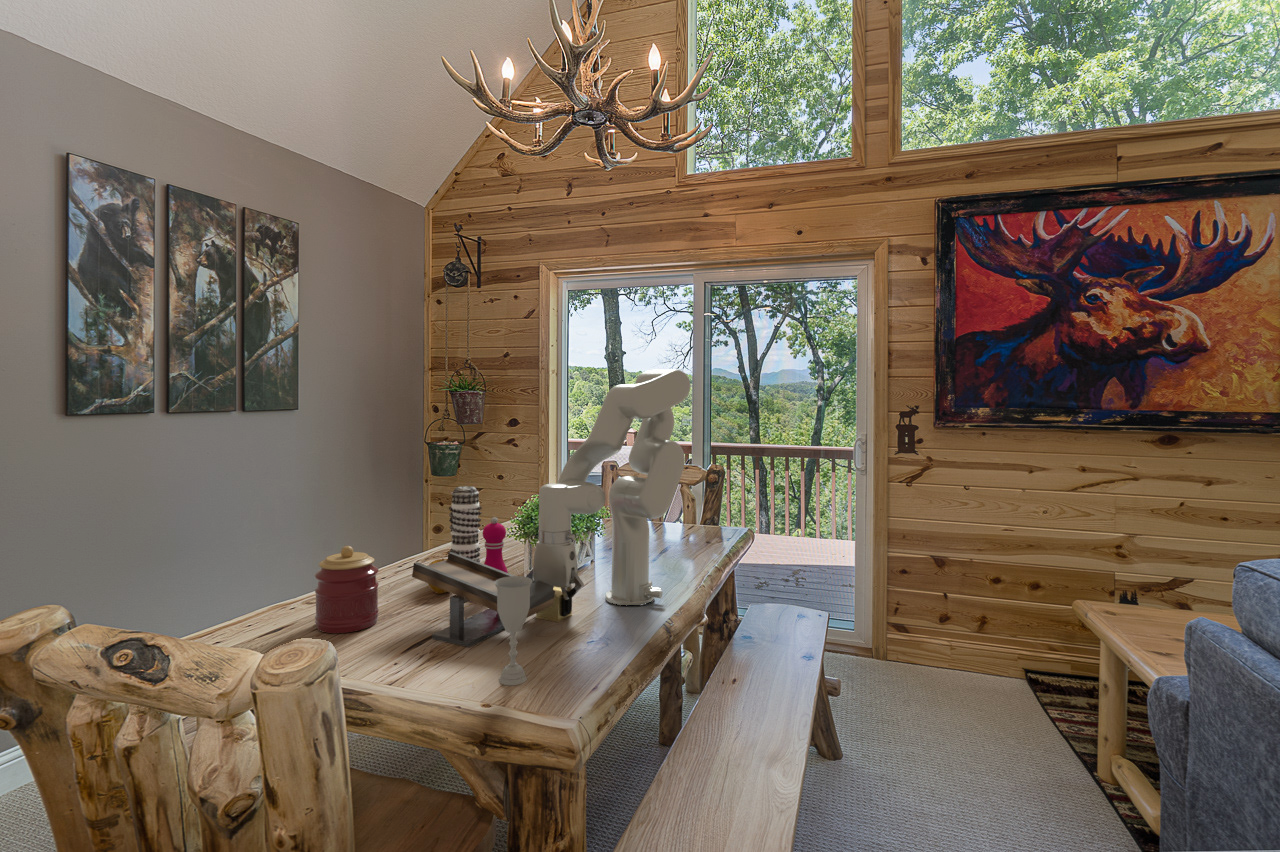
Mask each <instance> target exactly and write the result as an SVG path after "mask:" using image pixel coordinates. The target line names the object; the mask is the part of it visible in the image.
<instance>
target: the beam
mask: <svg viewBox="0 0 1280 852" xmlns="http://www.w3.org/2000/svg"><path fill="white" fill-rule="evenodd" d="M447 554H448V555H447V558H446V559H447V560H443V561H440V562H437V563H434V564H431V565H429V564H427V565H425V564H423V563H420V562H418V561H416V562H413V567H412V575H411V577H412V578H415V579H417V580H419V581H422V582H423V583H426V584H427V585H428V584H431V585H433V586H436V587H438V588H440V589H443V590H445V591H448V593H451V594H453V595H458V596H463V597H464V604H467V603H469V602H473V603H475V604H478V605H480V606H482V607H484V608H487V609H492V610H494V611H496V612H498V611H497V587H496V585H495V581H496V580H498V579H500V578H503V577H509V576H515V575H514V574H511V573H509V572H508V573H506V572H503V571H501V570H498V569H495V568H493V567H490V566H487V565H485V564H484V563H482V562H480V563H479V562H477V561H474V560H471V559H469V558H466V557H463V556H461V555H458V554H455V553H453V552H451V551H449V552H448V553H447ZM553 587H555V586H552V585H550V584H547V583H544V582H542V581H536V582H534V583H533V582H532V584H531V586H530V608H529V611H528V615H527V618H526V619H528V618H530V617H532V616H534V615H536V613H538V612H540V611H542V610H544V609H545V608H547V607H549V606H551V605H553V601H554V595H555V591H554V590H553Z"/></svg>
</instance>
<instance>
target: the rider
mask: <svg viewBox="0 0 1280 852" xmlns="http://www.w3.org/2000/svg"><path fill="white" fill-rule="evenodd" d="M553 590H554V591H555V595H554V601H553V605H551V606H549V607H547V608H545V609H544V610H542V611H540V612H538V613H536V614H535V616H536V617H535V619H540V620H543V619H544V620H545V621H550V622H555V623H559V622H561V621H563V620H565V619H566V617H567V618H568V617H570V616H572V615H573V610H572V611H571V613H570V614H569V615H567V616H565V617H563V616H562V600H563V599H564V597H563V594H562V591H561V587H555V586H554V587H553ZM571 614H572V615H571ZM544 620H543V621H544Z"/></svg>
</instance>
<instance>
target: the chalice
mask: <svg viewBox="0 0 1280 852" xmlns="http://www.w3.org/2000/svg"><path fill="white" fill-rule="evenodd" d="M532 582H533V581H532V579H531V578H528V577H526V576H522V575H514V576H509V577H503V578H500V579H498V580H496V581H495V585H496V587H497V611H498V614H499V617H500V620H501V622H502V624H503V626H504V628H505V629H504V631H506V633H510V640H509V642H508V644H509V646H510V650H509V651H508V653H507V654H508V655H509V657H510V662H509V663H508V664H507V665H505V666H504V667H503V669H502V672H501V673H500V677H499V679H498V682H499V683H500V684H501V685H505V686H518V685H521V684H524V683H525V682H526V681H527V679H528V678H527V677H528V676H527V675H526V673H525V670H524V667H523V666H522V665H521V664H519V663H518V662H517V661H516V658H517V655H518V654H519V652H518V651H517V649H516V648H517V644H518V643H519V642H518V641H517V637H516V636H517V633H518V632H520V631H521V630H522V629H523V626H524V624H525V622H526V619H528V618H527V615H528V611H529V608H530V586H531V584H532Z"/></svg>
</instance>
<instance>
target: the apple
mask: <svg viewBox="0 0 1280 852" xmlns="http://www.w3.org/2000/svg"><path fill="white" fill-rule="evenodd" d="M447 559H448V558H438V559H434V560H433V561H432V562H430V563H428V565H431V564H434V563H437V562H440V561H443V560H447ZM427 585H428V586H429V587H430V589H431V590H432V591H433V592H434V593H436V594H439V595H440V594H441V595H442V594H445V593H447V592H448V591H445V590H443V589H440V588H438V587H436V586H433V585H431V584H428V583H427ZM448 593H449V592H448Z"/></svg>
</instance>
